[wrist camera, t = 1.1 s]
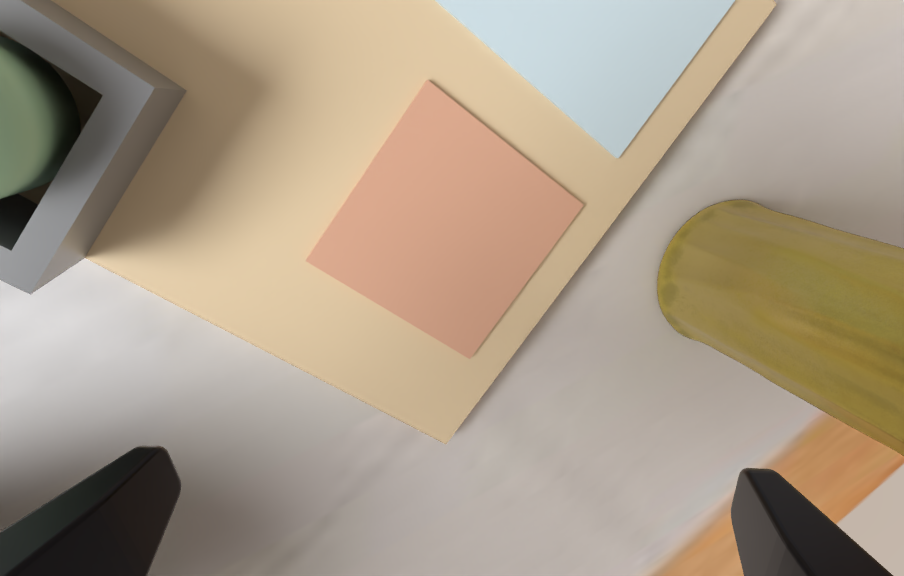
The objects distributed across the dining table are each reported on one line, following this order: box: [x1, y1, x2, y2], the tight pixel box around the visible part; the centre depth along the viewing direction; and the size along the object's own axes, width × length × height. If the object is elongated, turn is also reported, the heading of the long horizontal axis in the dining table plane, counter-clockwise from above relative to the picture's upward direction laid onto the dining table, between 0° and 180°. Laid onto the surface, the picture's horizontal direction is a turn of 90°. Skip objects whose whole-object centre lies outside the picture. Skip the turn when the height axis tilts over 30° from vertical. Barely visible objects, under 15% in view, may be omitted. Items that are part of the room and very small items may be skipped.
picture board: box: [0, 0, 777, 444], centre depth 17 cm, size 22×20×1 cm
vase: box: [657, 200, 904, 456], centre depth 17 cm, size 6×6×14 cm
